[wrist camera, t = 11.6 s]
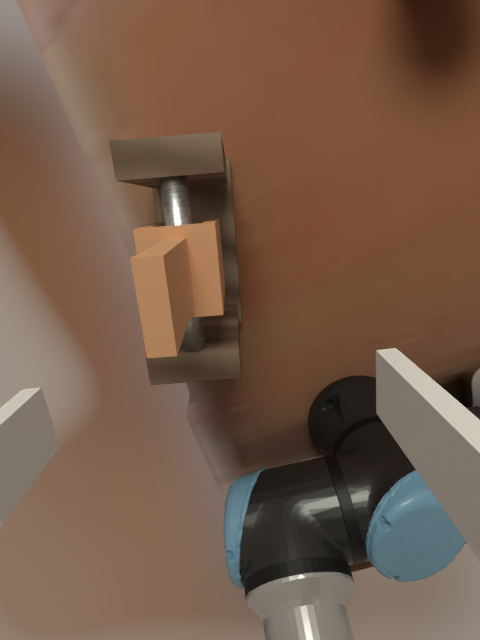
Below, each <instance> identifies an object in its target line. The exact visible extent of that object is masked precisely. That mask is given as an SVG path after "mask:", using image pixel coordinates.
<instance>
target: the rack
mask: <svg viewBox="0 0 480 640" xmlns="http://www.w3.org/2000/svg"><path fill="white" fill-rule="evenodd" d="M109 142H110V147H111V153H112V159H113V165H114V171H115V177H116V181H120V182H126V183H131V184H136V185H141V186H146V187H151V188H153V191H154V198H155V205H156V212H157V219H158V223H160V222H165V226H172V225H185V224H197V223H203V222H204V221H206V220H207V219H210V218H219V223H220V235H221V246H222V257H223V268H224V279H225V298H224V314H223V315H216V316H204V317H191V318H190V321H189V323H188V326H187V329H186V332H185V335H184V338H183V341H182V344H181V346H180V349H179V352H178V355H177V356H171V357H159V358H147V356H146V360H147V366H148V371H149V378H150V383H151V385H158V384H171V383H184V382H197V381H210V380H223V379H236V378H241V363H240V341H239V324H242V314H241V302H240V289H239V276H238V263H237V250H236V237H235V224H234V211H233V199H232V186H231V173H230V160H229V157H225V153H224V147H223V142H222V136H221V132H214V133H201V134H189V135H176V136H164V137H152V138H139V139H127V140H114V141H109Z"/></svg>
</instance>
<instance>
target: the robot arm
mask: <svg viewBox="0 0 480 640" xmlns="http://www.w3.org/2000/svg"><path fill="white" fill-rule="evenodd" d="M308 425H309V430H310V433H311V436H312V439H313V441H314V443H315V445H316V447H317V448H318V450H319V451H320V452H321V453H322V454H323V455H324V456H325V457H321V458H317V459H312V460H307V461H303V462H298V463H294V464H289V465H284V466H280V467H275V468H270V469H266V468H264V469H261V470H259V471H258V472H255V473H252V474H248V475H245V476H241V477H239V478H237V479H236V480H235V481H234V482H233V483H232V485H231V487H230V489H229V491H228V494H227V498H226V503H225V511H224V547H225V550H226V564H227V569H228V573H229V577H230V579H231V581H232V583H233V584H234V585H235V586H236V587H239V588H241V589H245V597H246V604H247V605H248V606H249V607H250V608H251V609H252V610H253V611H254V612H255V613H256V614H257V615H258V616H259V617H260V619H261V620H262V622H263V625H264V633H265V640H355V639H354V636H353V632H352V628H351V625H350V621H349V617H348V614H347V610H346V603H347V601H348V599H349V597H350V594H351V592H352V590H353V587H354V580H353V577H352V573H351V570H350V567H349V566H350V565H353V564H358V563H363V562H368V561H370V562H371V563H372V565H373V567H375V568H376V569H377V570H378V572H380V573H381V574H382V575H384V576H385V577H387V578H389V579H392V578H393V577H394V578H395V580H397V581H403V582H408V581H417V580H420V579H424V578H427V577H429V576H432V575H434V574H436V573H437V572H439V571H441V570H442V569H444V568H445V567H446V566H448V565H449V564H450V563H451V562H452V561H453V560H454V559H455V557H456V555H457V554H458V553H459V552H460V551H461V550H462V548H463V546H464V544H465V542H467V544H468V545H469V546H470V548H471V549H472V551H473V552H474V554H475V555H476V556H477V558H478V559H479V561H480V407H478V406H476V407H467V408H465V407H464V406H463V405H462V404H461V403H460V402H458V401H457V400H456V399H455V398H454V397H453V396H451V395H450V394H449V393H448V392H447V391H446V390H444V389H443V388H442V387H441V386H440V385H438V384H437V383H436V382H435V381H434V380H433V379H431V378H430V377H429V376H428V375H427V374H426V373H424V372H423V371H422V370H421V369H420V368H419V367H417V366H416V365H415V364H414V363H413V362H412V361H410V360H409V359H408V358H407V357H406V356H405V355H403V354H402V353H401V352H400V351H399V350H397V349H396V348H392V349H383V350H376V378H373V377H368V376H351V377H346V378H343V379H340V380H338V381H336V382H334V383H332V384H330V385H329V386H327V387H326V388H325V389H323V390H322V391H321V392H320V393H319V395H318V396H317V397H316V398H315V400H314V402H313V404H312V406H311V408H310V411H309V417H308ZM59 447H60V446H59V443H58V440H57V436H56V433H55V430H54V427H53V423H52V420H51V417H50V413H49V410H48V407H47V403H46V400H45V397H44V394H43V391H42V388H41V387H40V388H31V389H23V390H22V391H20V392H19V393H18V394H17V395H15V396H14V397H13V398H12V399H11V400H9V401H8V402H7V403H6V404H5V405H3V406H2V407H1V408H0V526H1V525H2V524H3V522H4V521H5V520H6V518H7V517H8V516H9V514H10V513H11V512H12V510H13V509H14V507H15V506H16V505H17V504H18V502H19V501H20V500H21V498H22V497H23V496H24V494H25V493H26V491H27V490H28V489H29V488H30V486H31V485H32V484H33V482H34V481H35V479H36V478H37V477H38V475H39V474H40V472H41V471H42V470H43V469H44V467H45V466H46V465H47V463H48V462H49V461H50V459H51V458H52V457H53V455H54V454H55V453H56V451H57V450H58V449H59Z"/></svg>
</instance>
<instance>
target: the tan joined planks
mask: <svg viewBox="0 0 480 640" xmlns="http://www.w3.org/2000/svg"><path fill="white" fill-rule="evenodd" d="M133 232H134V238H135V244H136V251H137V255H135V256H134V257H132V258H130V259H131V265H132V271H133V277H134V283H135V289H136V295H137V301H138V307H139V313H140V319H141V325H142V330H143V336H144V342H145V348H146V354H147V358H159V357H171V356H177V355H178V352H179V349H180V346H181V344H182V341H183V338H184V335H185V332H186V329H187V326H188V323H189V321H190V318H191V317H204V316H216V315H223V314H224V298H225V279H224V268H223V257H222V246H221V235H220V223H219V218H210V219H207V220H206V221H204V222H203V223H197V224H185V225H172V226H165V222H160V223H156V224H152V225H148V226H144V227H141V228H137V229H133Z"/></svg>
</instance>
